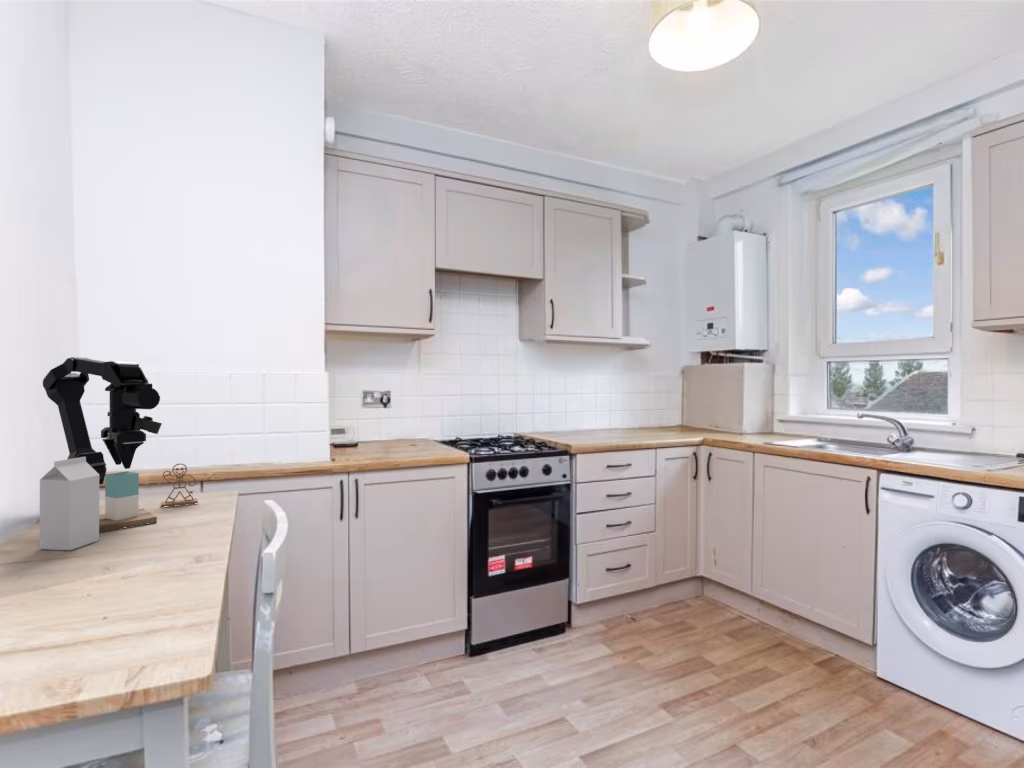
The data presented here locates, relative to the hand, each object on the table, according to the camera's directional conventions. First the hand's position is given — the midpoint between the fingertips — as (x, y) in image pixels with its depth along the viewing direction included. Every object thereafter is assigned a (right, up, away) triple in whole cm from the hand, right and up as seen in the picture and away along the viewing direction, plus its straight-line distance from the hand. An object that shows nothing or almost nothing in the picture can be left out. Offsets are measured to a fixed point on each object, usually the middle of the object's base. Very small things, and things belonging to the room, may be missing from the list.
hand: (122, 466), depth 138 cm
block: (+5, -12, -7) cm, 15 cm away
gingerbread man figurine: (+8, -13, +12) cm, 19 cm away
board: (+5, -13, -7) cm, 16 cm away
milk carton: (+7, -14, -25) cm, 29 cm away
